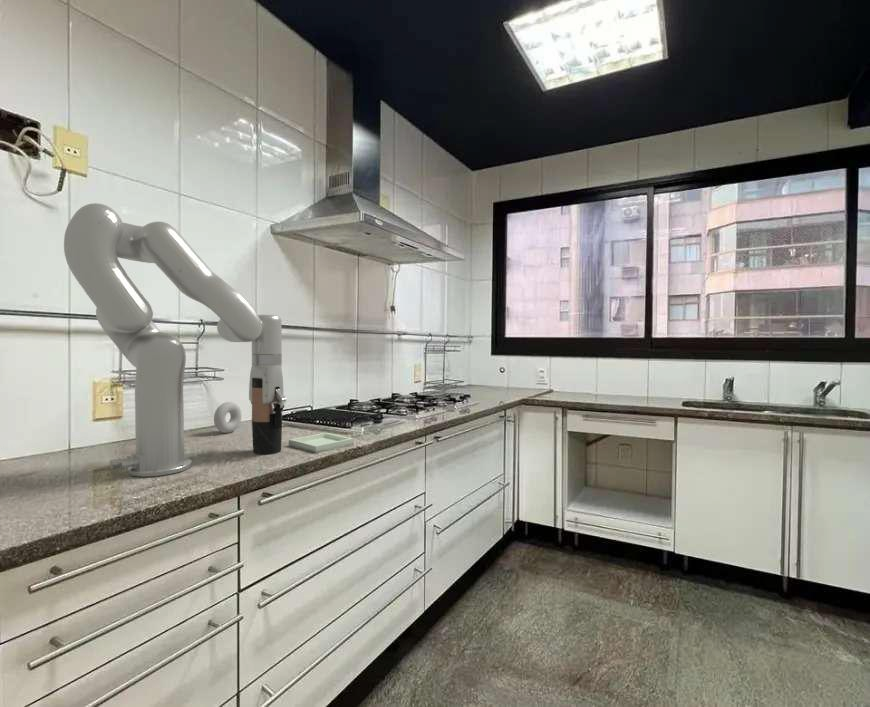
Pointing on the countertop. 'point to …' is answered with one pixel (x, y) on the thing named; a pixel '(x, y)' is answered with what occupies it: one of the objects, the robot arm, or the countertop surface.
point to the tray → (320, 442)
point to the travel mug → (263, 423)
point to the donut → (221, 414)
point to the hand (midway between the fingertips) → (267, 425)
